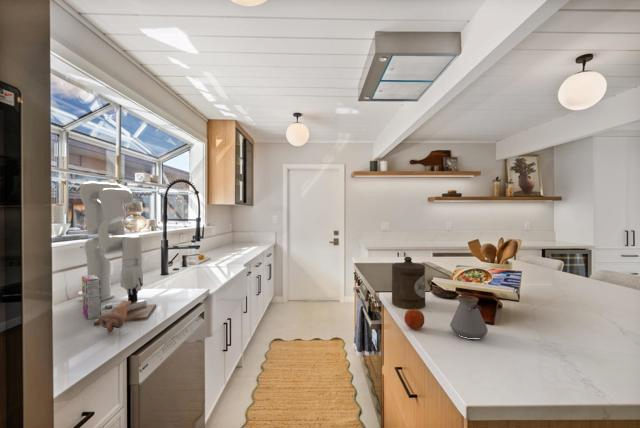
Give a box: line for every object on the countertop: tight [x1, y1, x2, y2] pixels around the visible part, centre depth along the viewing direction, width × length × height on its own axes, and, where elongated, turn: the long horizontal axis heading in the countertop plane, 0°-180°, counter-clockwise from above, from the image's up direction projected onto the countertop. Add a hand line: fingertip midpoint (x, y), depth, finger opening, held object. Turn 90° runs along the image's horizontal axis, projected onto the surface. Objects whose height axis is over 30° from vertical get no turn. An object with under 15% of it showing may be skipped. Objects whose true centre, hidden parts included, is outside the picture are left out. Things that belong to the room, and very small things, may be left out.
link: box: [101, 298, 148, 315], centre depth 125 cm, size 18×5×4 cm, turn 154°
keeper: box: [115, 300, 131, 319], centre depth 120 cm, size 3×8×5 cm, turn 19°
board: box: [93, 303, 157, 327], centre depth 124 cm, size 18×18×1 cm
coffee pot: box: [449, 294, 488, 339], centre depth 95 cm, size 21×12×15 cm, turn 161°
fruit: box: [403, 309, 425, 331], centre depth 106 cm, size 7×7×8 cm
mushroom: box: [98, 312, 125, 334], centre depth 105 cm, size 8×6×8 cm
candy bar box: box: [81, 275, 102, 320], centre depth 125 cm, size 11×5×16 cm, turn 47°
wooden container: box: [391, 256, 426, 310], centre depth 134 cm, size 15×15×22 cm
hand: (132, 302), depth 134 cm, fingers closed
